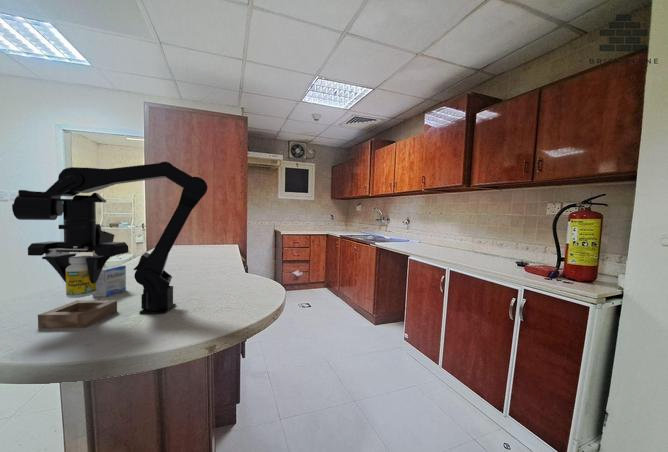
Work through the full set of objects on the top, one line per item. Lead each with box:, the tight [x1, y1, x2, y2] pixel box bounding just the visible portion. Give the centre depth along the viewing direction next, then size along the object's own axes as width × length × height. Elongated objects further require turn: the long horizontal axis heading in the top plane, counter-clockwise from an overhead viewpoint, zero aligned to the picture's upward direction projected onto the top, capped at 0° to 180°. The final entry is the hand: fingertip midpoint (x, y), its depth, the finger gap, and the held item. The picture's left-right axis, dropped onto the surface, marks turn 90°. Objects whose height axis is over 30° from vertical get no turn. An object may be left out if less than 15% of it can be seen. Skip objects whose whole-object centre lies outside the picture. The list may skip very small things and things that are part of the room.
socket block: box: [37, 299, 118, 329], centre depth 65 cm, size 10×10×3 cm
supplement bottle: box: [65, 255, 96, 299], centre depth 64 cm, size 5×5×10 cm
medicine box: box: [92, 264, 127, 298], centre depth 85 cm, size 8×4×9 cm, turn 179°
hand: (81, 283), depth 65 cm, fingers closed on supplement bottle, 5 cm apart
